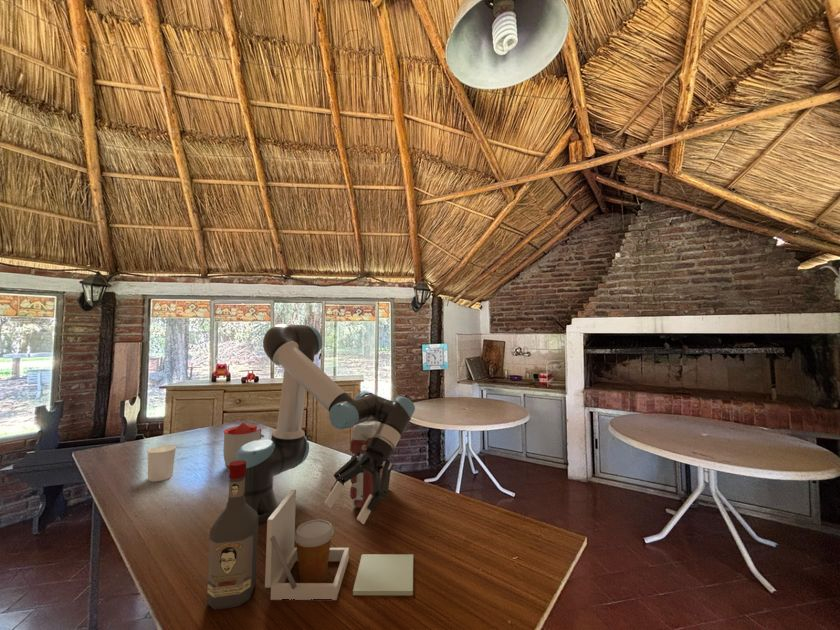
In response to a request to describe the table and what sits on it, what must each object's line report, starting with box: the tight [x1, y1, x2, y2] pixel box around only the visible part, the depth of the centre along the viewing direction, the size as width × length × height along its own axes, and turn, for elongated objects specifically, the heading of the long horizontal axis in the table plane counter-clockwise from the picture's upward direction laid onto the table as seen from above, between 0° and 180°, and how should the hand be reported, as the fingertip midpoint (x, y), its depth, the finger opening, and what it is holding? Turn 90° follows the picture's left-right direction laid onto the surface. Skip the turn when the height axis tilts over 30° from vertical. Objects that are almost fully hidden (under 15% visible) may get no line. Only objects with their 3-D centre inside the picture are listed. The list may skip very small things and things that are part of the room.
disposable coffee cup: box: [294, 519, 335, 583], centre depth 89 cm, size 10×10×12 cm
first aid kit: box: [349, 419, 383, 510], centre depth 134 cm, size 23×8×30 cm, turn 168°
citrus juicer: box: [223, 422, 265, 471], centre depth 165 cm, size 16×17×20 cm
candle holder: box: [147, 445, 177, 483], centre depth 150 cm, size 10×10×12 cm
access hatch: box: [264, 489, 350, 601], centre depth 89 cm, size 16×16×18 cm
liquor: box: [206, 460, 259, 611], centre depth 83 cm, size 9×9×30 cm
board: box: [352, 553, 414, 596], centre depth 90 cm, size 14×14×1 cm
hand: (343, 513), depth 95 cm, fingers open, 13 cm apart
